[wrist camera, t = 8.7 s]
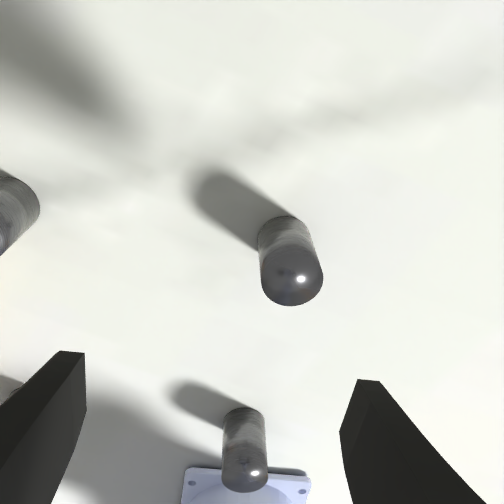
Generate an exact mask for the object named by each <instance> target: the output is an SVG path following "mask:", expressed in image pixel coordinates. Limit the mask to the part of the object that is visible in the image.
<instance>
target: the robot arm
mask: <svg viewBox="0 0 504 504" xmlns="http://www.w3.org/2000/svg"><path fill="white" fill-rule="evenodd" d="M86 411H87V409H86V380H85V353H79V352H69V351H59V352H57V353H56V354H55V355H54V356H53V357H52V358H51V359H50V360H49V361H48V362H47V363H46V364H45V365H44V366H43V367H42V368H41V369H39V370H38V371H37V372H36V373H35V374H34V375H33V376H32V377H31V378H30V379H29V380H28V381H27V382H26V383H25V384H24V385H23V386H22V387H21V388H19V389H18V390H17V391H16V392H15V393H14V394H13V395H12V396H11V397H9V398H8V399H7V400H6V401H5V402H4V403H3V404H2V405H1V406H0V504H51V502H52V500H53V498H54V496H55V493H56V491H57V489H58V486H59V484H60V482H61V480H62V477H63V475H64V473H65V470H66V468H67V466H68V463H69V461H70V459H71V456H72V454H73V452H74V449H75V446H76V443H77V440H78V437H79V434H80V430H81V427H82V424H83V420H84V417H85V414H86ZM339 434H340V442H341V450H342V457H343V464H344V470H345V474H346V478H347V482H348V486H349V490H350V494H351V498H352V502H353V504H486V503H485V502H484V501H483V500H482V499H481V498H480V497H479V496H478V495H477V494H476V493H475V492H474V491H473V490H472V489H471V488H470V487H469V486H468V484H467V483H466V482H465V481H464V480H463V479H462V478H461V477H460V476H459V475H458V474H457V473H456V472H455V471H454V469H453V468H452V467H451V466H450V465H449V464H448V463H447V462H446V461H445V460H444V458H443V457H442V456H441V455H440V454H439V453H438V452H437V451H436V449H435V448H434V447H433V446H432V445H431V444H430V442H429V441H428V440H427V439H426V438H425V437H424V435H423V434H422V433H421V432H420V431H419V429H418V428H417V427H416V426H415V425H414V423H413V422H412V421H411V420H410V418H409V417H408V416H407V415H406V413H405V412H404V411H403V410H402V408H401V407H400V406H399V405H398V404H397V402H396V401H395V400H394V399H393V397H392V396H391V395H390V394H389V392H388V391H387V390H386V389H385V387H384V386H383V385H382V384H381V383H380V381H372V380H361V379H357V382H356V385H355V388H354V391H353V394H352V396H351V399H350V402H349V405H348V408H347V411H346V414H345V416H344V419H343V422H342V425H341V428H340V431H339ZM221 474H222V470H220V469H207V468H195V467H192V468H188V469H187V470H186V471H185V477H184V484H183V491H182V498H181V504H305V503H306V501H307V498H308V495H309V492H310V489H311V486H312V484H311V480H310V478H308V477H305V476H295V475H282V474H270V473H268V481H267V483H266V484H265V486H263V487H262V488H261V489H259V490H257V491H254V492H250V493H238V492H234V491H231V490H229V489H228V488H226V487H225V486H224V485H223V483H222V480H221Z"/></svg>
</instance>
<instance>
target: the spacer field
mask: <svg viewBox="0 0 504 504" xmlns="http://www.w3.org/2000/svg"><path fill="white" fill-rule="evenodd" d="M39 213H40V205H39V201H38V198H37V196H36V195H35V193H34V192H33V191H32V190H31V188H30V187H28V186H27V185H26V184H25V183H23V182H21V181H19V180H17V179H14V178H10V177H0V256H1V255H2V254H3V253H4V252H5V251H6V250H7V249H8V248H9V247H10V246H11V245H12V244H13V243H14V242H15V241H16V240H17V239H18V238H19V237H20V236H21V235H22V234H23V233H24V232H25V231H27V230H28V229H29V228H30V227H31V226H32V225H33V224H34V223H35V222H36V220H37V219H38V217H39ZM258 251H259V262H260V274H261V284H262V288H263V291H264V293H265V294H266V296H267V297H268V298H269V299H270V300H272V301H273V302H275V303H277V304H280V305H284V306H297V305H301V304H304V303H306V302H308V301H310V300H311V299H313V298H314V297H315V296H316V295H317V294H318V292H319V291H320V289H321V287H322V284H323V273H322V269H321V266H320V263H319V260H318V257H317V254H316V252H315V249H314V246H313V243H312V240H311V237H310V234H309V231H308V229H307V227H306V226H305V225H304V224H303V223H302V222H301V221H300V220H298V219H296V218H293V217H288V216H282V217H277V218H274V219H272V220H270V221H269V222H267V223H266V224H265V225H264V226H263V227H262V229H261V230H260V232H259V235H258ZM18 389H19V388H18ZM18 389H16V390H14V391H13V392H12V393H11V394H10V395H9V397H11V396H12V395H13V394H14V393H15V392H16V391H17V390H18ZM9 397H8V398H9ZM221 480H222V483H223V485H224V486H225V487H226V488H228V489H229V490H231V491H234V492H238V493H250V492H254V491H257V490H259V489H261V488H262V487H263V486H265V484H266V483H267V481H268V468H267V452H266V437H265V422H264V418H263V416H262V415H261V414H260V413H259V412H258V411H256V410H253V409H250V408H239V409H235V410H233V411H231V412H229V413H228V414H227V415H226V417H225V418H224V422H223V448H222V474H221Z"/></svg>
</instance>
